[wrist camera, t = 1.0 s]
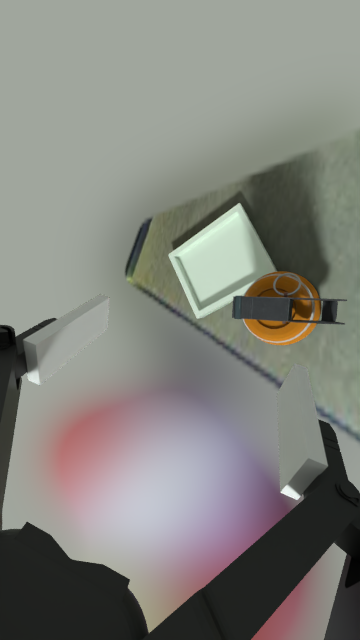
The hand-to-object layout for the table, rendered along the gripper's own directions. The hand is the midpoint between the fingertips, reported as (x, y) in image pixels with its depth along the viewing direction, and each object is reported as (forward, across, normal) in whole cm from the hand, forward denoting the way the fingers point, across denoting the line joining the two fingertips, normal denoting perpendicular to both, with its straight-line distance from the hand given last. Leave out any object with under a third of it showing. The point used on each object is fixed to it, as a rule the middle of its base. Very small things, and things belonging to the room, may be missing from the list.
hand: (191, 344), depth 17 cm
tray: (+33, -2, -3) cm, 33 cm away
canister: (+28, +12, -5) cm, 31 cm away
